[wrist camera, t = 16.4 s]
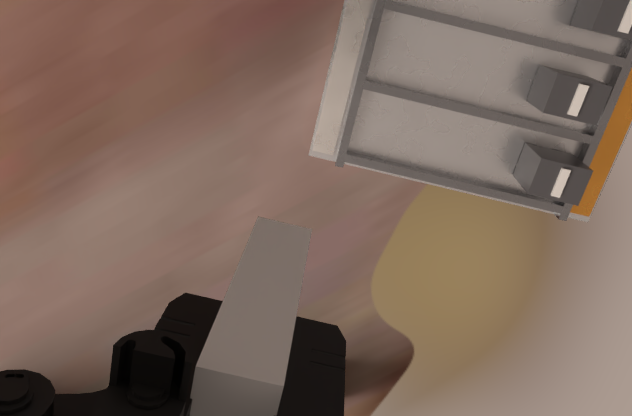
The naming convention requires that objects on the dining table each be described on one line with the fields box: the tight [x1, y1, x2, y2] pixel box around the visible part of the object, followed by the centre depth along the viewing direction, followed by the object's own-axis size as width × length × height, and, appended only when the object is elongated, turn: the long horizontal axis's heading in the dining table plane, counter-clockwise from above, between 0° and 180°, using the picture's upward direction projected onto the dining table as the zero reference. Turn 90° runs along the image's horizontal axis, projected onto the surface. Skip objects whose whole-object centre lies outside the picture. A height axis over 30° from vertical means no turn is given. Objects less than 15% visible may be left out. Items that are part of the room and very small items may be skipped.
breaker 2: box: [569, 0, 632, 41], centre depth 37 cm, size 3×4×4 cm
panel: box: [309, 0, 632, 222], centre depth 41 cm, size 18×22×2 cm
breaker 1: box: [513, 143, 593, 206], centre depth 41 cm, size 3×4×4 cm
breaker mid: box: [526, 65, 613, 126], centre depth 39 cm, size 3×4×4 cm
